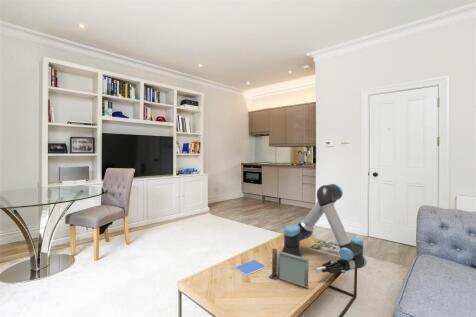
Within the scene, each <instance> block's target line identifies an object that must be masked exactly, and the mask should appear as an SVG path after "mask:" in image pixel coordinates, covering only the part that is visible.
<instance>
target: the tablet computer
mask: <svg viewBox="0 0 476 317" xmlns="http://www.w3.org/2000/svg"><path fill="white" fill-rule="evenodd" d="M265 268H267V265H266V264H265V265H264V264H263V263H262V262H259V261H257V260H255V259H253V260H250V261H248V262H245V263H243V264H240V265H237V266H235V267H234V269H235V270H236V271H238V272H239V273H241V274H243V275H244V276H249V275H251V274H253V273H255V272H257V271H261V270H263V269H265Z"/></svg>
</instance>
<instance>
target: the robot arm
mask: <svg viewBox="0 0 476 317" xmlns="http://www.w3.org/2000/svg"><path fill="white" fill-rule="evenodd" d="M342 197H343V190H342V187H341V186H340V185H338V184H336V183H330V184H325V185H321V186H320V187H318V188H317V191H316V200H317V201H316V203H315V204H314V206H313V207H312V209H311V210H309V212H308V213H307V215H306V216H305V218H304V219H301V220H300V221H299V222H298V223H297V224H295V223H291V224H287V225H285V226H284V230H283V234H284V235H283V236H284V237H283V248H282V250H281V252H284V253H288V254H292V255H295V256H299V257H303V254H302V251H301V249H300V244H301V243H300V242H301V241H303V240H306V239H308V238H310V237H311V236H312V235H313V233H314V230H315V228H314V227H315V226H316V224H318V221H319V220H320V219H321V217H322V216H323V215H325V217H326V219H327V222H328V224H329V226H330V229H331V230H332V233H333V236H334V237H335V240H336V242H337V245H338V247H339V251H338V255H339V256H340V258H339V259H337V261H332V260H329V261H327V262H324V263H322V266H319V267H316V268H315V273H316V274H321V273H329V274H338V273H339V274H345V273H346V272H347V271H348V272H349V271H352V270H357V269H362V268H364V267H366V266H367V260H366V257H365V256H364V241H363V239H362V238H359V237H351V239H350V238H349V236H348V234H347V232H346V231H347V230H346V229H345V228H344V225H343V223H342V220H341V218H340V216H339V213H338V212H337V209H336V207H335V203H336V202H337V201H339V200H340V199H342Z"/></svg>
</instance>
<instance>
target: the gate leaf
mask: <svg viewBox="0 0 476 317" xmlns="http://www.w3.org/2000/svg"><path fill="white" fill-rule="evenodd" d="M309 264H310V262H309V258H306V257H303V256H302V257H299V256H295V255H292V254H288V253H284V252H282V251H281V252H279V253H277V277H279V278H278V279H282V280H285V281H289V282H291V283H294V284H297V285H300V286H303V287H306V288H308V287H309Z"/></svg>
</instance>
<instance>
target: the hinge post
mask: <svg viewBox="0 0 476 317" xmlns="http://www.w3.org/2000/svg"><path fill="white" fill-rule="evenodd" d="M271 254H272V258H271V259H272V260H271V274H270V275H269V276H268V278H269V279H272V280H275V281H277V280H279V279H280V278H279V277H277V257H278V249H277V248H272V253H271Z"/></svg>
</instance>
